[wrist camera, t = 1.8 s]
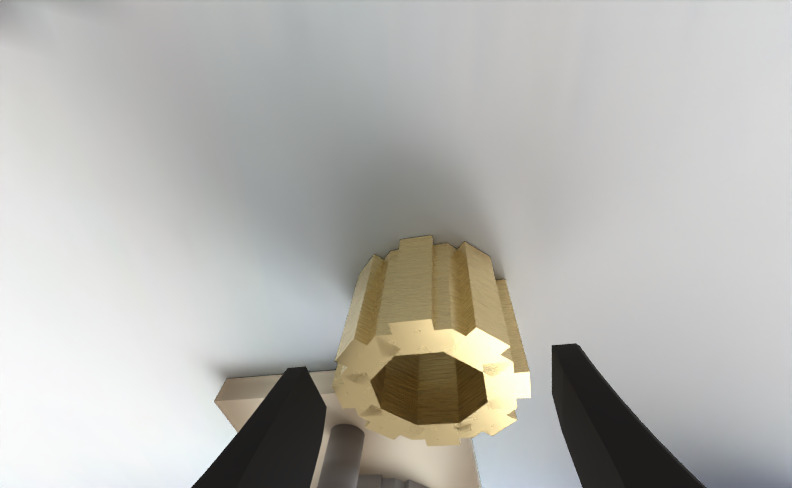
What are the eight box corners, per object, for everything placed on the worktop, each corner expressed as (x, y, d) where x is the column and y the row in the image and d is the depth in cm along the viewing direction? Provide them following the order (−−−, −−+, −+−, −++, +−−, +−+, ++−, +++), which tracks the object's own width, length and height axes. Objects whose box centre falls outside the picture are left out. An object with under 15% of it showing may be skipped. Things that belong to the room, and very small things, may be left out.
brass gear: (500, 224, 12) (526, 309, 9) (510, 344, 15) (533, 442, 12) (338, 248, 13) (305, 331, 10) (377, 355, 16) (361, 448, 13)
